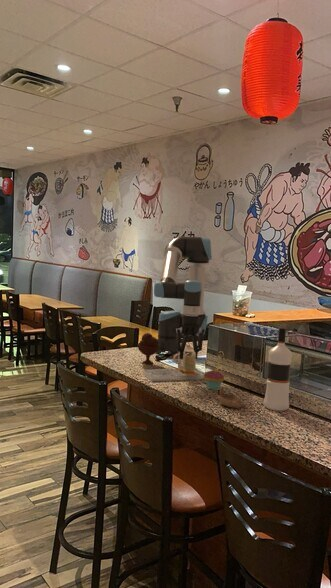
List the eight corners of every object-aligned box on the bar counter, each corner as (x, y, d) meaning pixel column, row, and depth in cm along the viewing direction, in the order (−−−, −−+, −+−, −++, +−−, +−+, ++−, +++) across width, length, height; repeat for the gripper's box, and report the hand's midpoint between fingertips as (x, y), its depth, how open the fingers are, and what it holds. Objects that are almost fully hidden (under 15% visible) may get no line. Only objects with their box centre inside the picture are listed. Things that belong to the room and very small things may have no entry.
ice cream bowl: (135, 365, 225) (136, 334, 224) (139, 360, 236) (140, 331, 235) (156, 367, 224) (158, 336, 223) (159, 361, 235) (161, 332, 234)
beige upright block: (181, 373, 212) (182, 352, 211) (189, 372, 213) (191, 352, 213) (184, 375, 208) (186, 354, 207) (193, 375, 209) (195, 354, 208)
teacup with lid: (189, 365, 232) (191, 342, 231) (199, 369, 224) (201, 346, 223) (168, 366, 226) (170, 343, 225) (177, 371, 218) (179, 346, 217)
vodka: (262, 409, 170) (268, 328, 168) (264, 402, 179) (270, 325, 177) (288, 413, 167) (295, 331, 165) (289, 405, 176) (296, 327, 174)
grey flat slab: (143, 373, 210) (143, 369, 210) (194, 372, 218) (194, 367, 218) (151, 381, 199) (151, 376, 198) (204, 379, 207) (205, 374, 207)
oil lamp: (247, 409, 169) (248, 396, 169) (230, 411, 166) (231, 398, 165) (225, 398, 181) (226, 386, 180) (209, 400, 177) (210, 387, 177)
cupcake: (219, 385, 199) (221, 357, 198) (226, 390, 191) (228, 362, 190) (200, 385, 197) (202, 357, 196) (206, 391, 189) (208, 362, 188)
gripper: (176, 315, 202) (172, 368, 204) (212, 316, 208) (208, 367, 210) (170, 313, 209) (166, 364, 211) (205, 314, 215) (202, 363, 217)
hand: (187, 366), depth 210 cm, fingers closed on beige upright block, 4 cm apart
